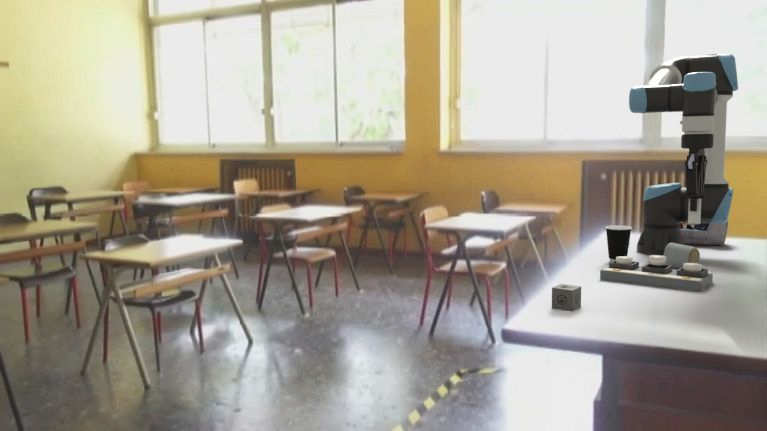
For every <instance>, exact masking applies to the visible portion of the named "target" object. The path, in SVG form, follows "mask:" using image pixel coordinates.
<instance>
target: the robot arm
mask: <svg viewBox="0 0 767 431" xmlns="http://www.w3.org/2000/svg"><path fill="white" fill-rule="evenodd" d="M738 90H739V82H738V72H737V63H736V57H735V56H734V54H731V53H713V54H702V55H691V56H680V57H675V58H673V59H669V60H667V61H665V62H663V63H661V64H660V65H658V66H657V67H656V68H654V70H652V72H651V74H650V76H649V81H648V82H647V83H646V84H645V85H639V86H633V87H631V88H630V91H629V93H628V94H629V96H628V107H629V110H630V112H631V113H633V114H648V113H649V114H651V113H678V112H679V113H681V112H682V114H681V116H682V117H681V120H680V121H679V124H680V125H681V132H682V133H684V134H681V138H680V139H681V140H680V141H681V142H680V143H681V144H680V147H681V149H684V150H685V149H688V155H686V160H685V161H684V166H685V167H684V168H685V184H686V185H685V186H683V185H682V183H681V182H670V183H661V184H655V185H654V184H653V185H649V186H647V187H645V189H644V191H643V192H644V193H643V199H642V201H643V209H642V210H643V211H642V215H643V216H642V229H641V233H640V236H639V238H638V240H637V244H636V252H637V253H641V254H645V255H649V256H651V255H660V256H663V255H664V250H665V248H666V246H667V245H668V244H669V243H676V244H681V245H685V244H684V241H683V238H682V235H681V232H680V223H687V224H691V225H695V224H700V223H710V224H721V223H725V222H726V221H727V220H728V221H729V216H730V215H729V214H730V211H731V207H732V206H731V205H732V202H733V201H732V200H733V194H734V188H732V187H729V186H730V185H729V184H730V182H729V181H728V180H727V179H726V178H725V161H726V160H725V158H726V157H725V155H726V134H727V132H726V131H727V111H728V110H727V109H728V108H727V107H728V102H729V101H730V100H731V99H732V98H733V97H734V96H733V95H734V93H733V92H736V91H738Z"/></svg>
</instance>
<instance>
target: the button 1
mask: <svg viewBox="0 0 767 431" xmlns="http://www.w3.org/2000/svg"><path fill="white" fill-rule="evenodd" d="M633 260H634V259H633V257H632V256H628V255H627V256H618V257H616V264H626V265H631V264H632V262H633Z"/></svg>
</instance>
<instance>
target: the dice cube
mask: <svg viewBox="0 0 767 431" xmlns="http://www.w3.org/2000/svg"><path fill="white" fill-rule="evenodd" d="M581 307H582V286H581V285H580V286H579V285H573V284H566V283H559V284H557V285H555V286H553V287H551V309H552V310H558V311H559V310H560V311H564V312H565V311H566V312H571V313H573V312H574V311H577V310H579V309H580V308H581Z"/></svg>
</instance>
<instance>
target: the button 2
mask: <svg viewBox="0 0 767 431" xmlns="http://www.w3.org/2000/svg"><path fill="white" fill-rule="evenodd" d="M702 269H703V265H702V264H701V263H699V264H698V263H684V265H683V271H691V272H700V273H701V272H702Z"/></svg>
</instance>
